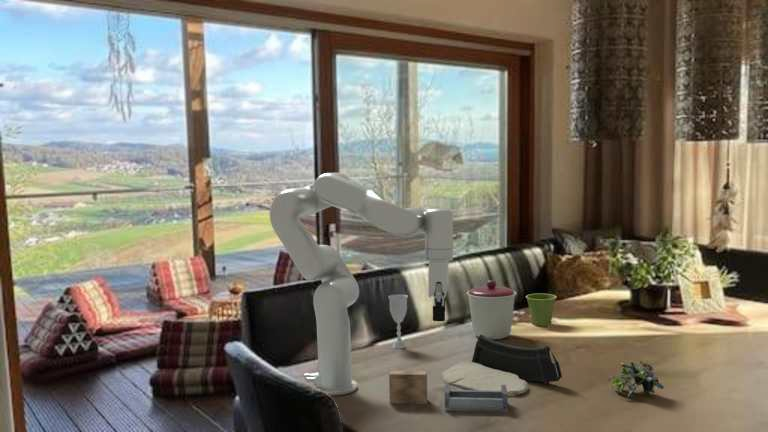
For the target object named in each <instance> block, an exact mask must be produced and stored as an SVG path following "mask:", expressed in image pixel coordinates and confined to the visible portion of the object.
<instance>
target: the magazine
mask: <svg viewBox="0 0 768 432" xmlns="http://www.w3.org/2000/svg"><path fill="white" fill-rule="evenodd" d="M471 362H474V363H478V364H481V365H483V366H485V367H489V368H492V369H495V370H500V371H504V372H509V373H512V374H516V375H517V376H519V379H521V380H524V381H531V382H538V383H539V382H540V383H545V385H546V386H549V385H551V384H550V383H553V382H559V381H560V380H561V378H562V377H563V374H562V371H561V366H560V362H559V361H558V360H557V359H556V356H555V354H554V353H553V352H552V351H551V348H550V346H544V347H523V346H517V345H511V344H507V343H503V342H501V341H500V342H499V341H496V340H491V339H489V338H487V337H485V336H484V335H480V336H479V337H477V341H476V343H475V346H474V352H473V355H472V360H471Z"/></svg>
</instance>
